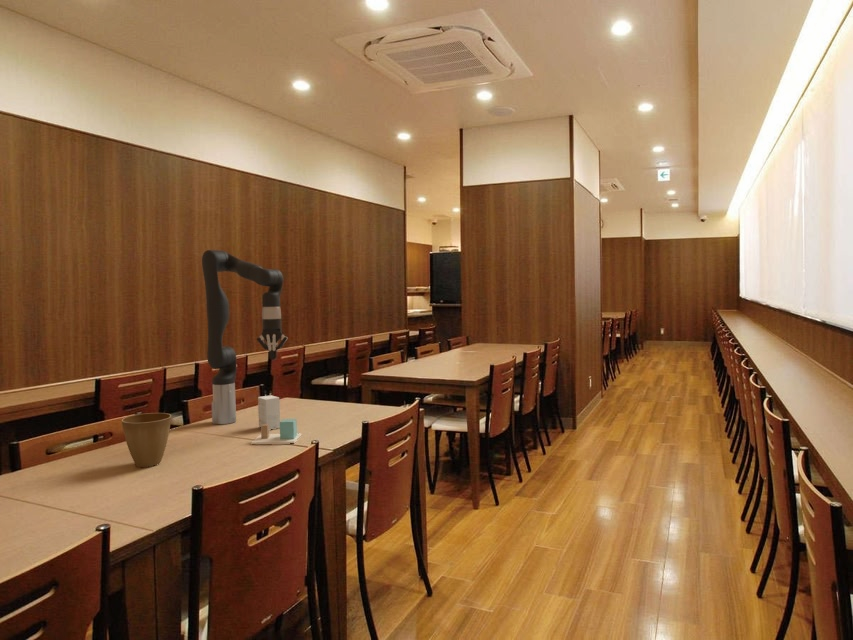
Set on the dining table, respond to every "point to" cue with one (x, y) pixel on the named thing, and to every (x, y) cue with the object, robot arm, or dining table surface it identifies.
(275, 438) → the post board
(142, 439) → the plant pot
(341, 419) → the dining table surface
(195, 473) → the dining table surface
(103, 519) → the dining table surface
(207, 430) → the dining table surface
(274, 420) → the small box
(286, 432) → the teal block
